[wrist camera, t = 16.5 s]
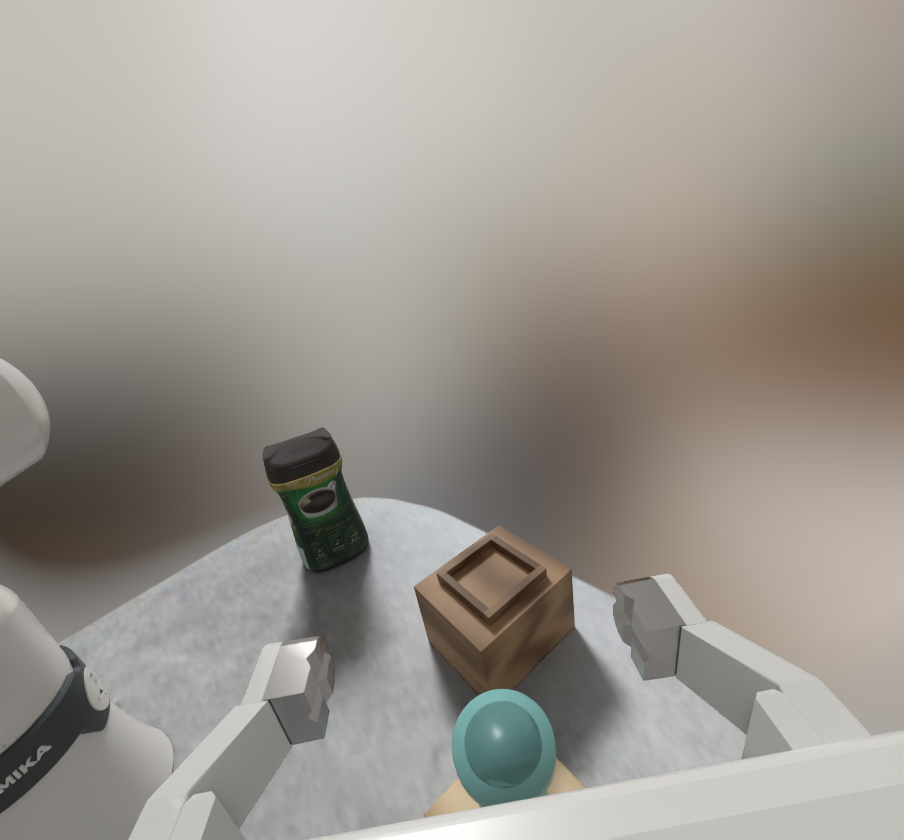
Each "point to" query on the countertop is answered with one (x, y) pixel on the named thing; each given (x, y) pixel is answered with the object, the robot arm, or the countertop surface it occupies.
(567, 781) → the cork mat
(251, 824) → the countertop surface
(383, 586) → the countertop surface
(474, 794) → the stopper cap
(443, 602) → the walnut box
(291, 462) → the coffee jar
